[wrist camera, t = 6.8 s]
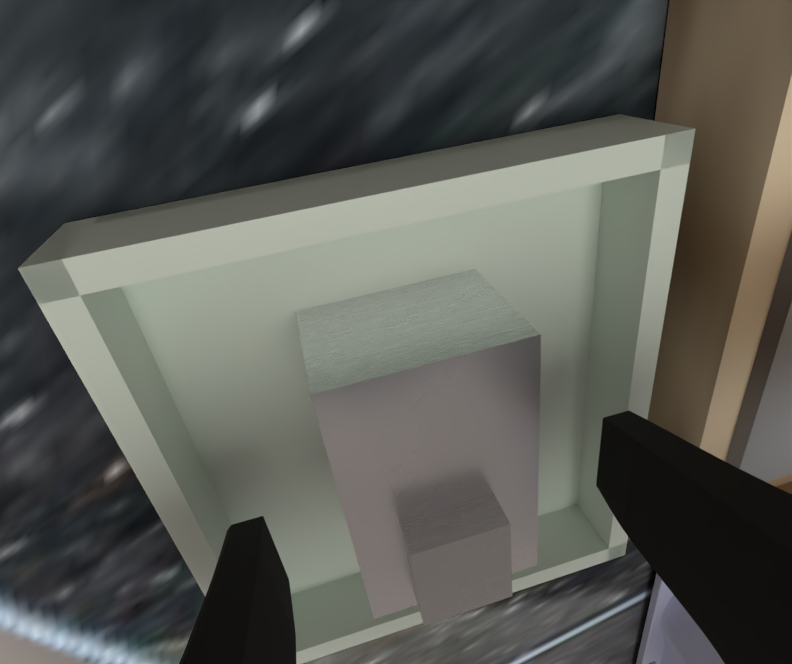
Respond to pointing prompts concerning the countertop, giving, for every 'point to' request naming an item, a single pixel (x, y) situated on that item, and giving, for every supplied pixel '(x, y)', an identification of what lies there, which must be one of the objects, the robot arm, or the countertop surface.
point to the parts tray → (351, 277)
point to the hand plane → (731, 235)
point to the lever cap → (430, 438)
